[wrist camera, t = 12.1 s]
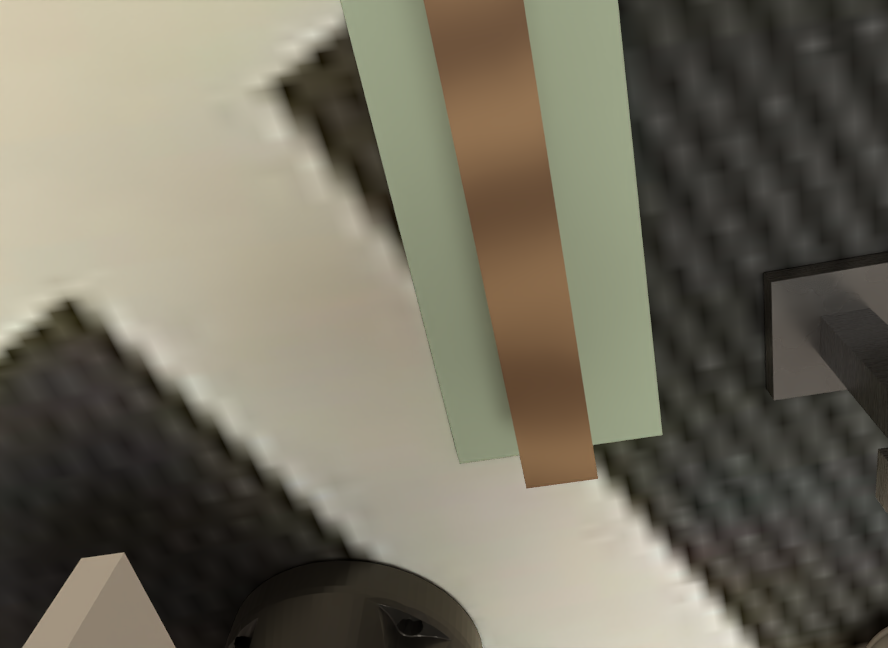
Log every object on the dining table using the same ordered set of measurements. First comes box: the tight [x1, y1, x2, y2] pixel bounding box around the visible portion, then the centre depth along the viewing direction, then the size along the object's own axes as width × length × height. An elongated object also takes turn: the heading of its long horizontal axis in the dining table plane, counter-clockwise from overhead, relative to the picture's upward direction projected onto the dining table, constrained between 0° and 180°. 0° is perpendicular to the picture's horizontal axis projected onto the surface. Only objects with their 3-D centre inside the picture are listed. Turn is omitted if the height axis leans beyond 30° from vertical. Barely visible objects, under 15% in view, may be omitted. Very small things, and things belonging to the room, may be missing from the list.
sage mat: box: [340, 0, 662, 464], centre depth 30 cm, size 28×10×1 cm, turn 12°
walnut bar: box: [423, 0, 598, 488], centre depth 28 cm, size 24×3×5 cm, turn 12°
